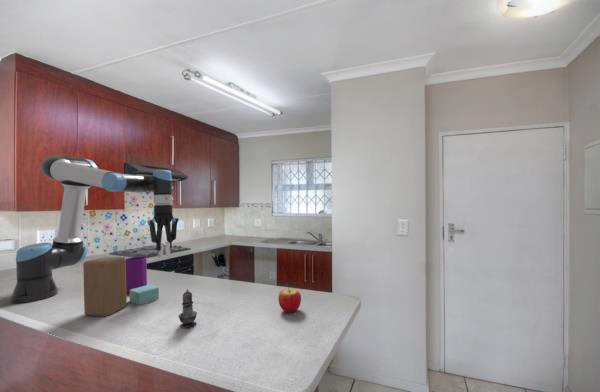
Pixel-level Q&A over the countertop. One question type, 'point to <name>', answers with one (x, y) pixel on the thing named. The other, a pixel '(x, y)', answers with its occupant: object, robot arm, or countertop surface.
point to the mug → (136, 273)
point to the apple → (289, 299)
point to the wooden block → (104, 285)
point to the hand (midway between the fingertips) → (164, 256)
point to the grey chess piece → (187, 312)
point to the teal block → (144, 294)
